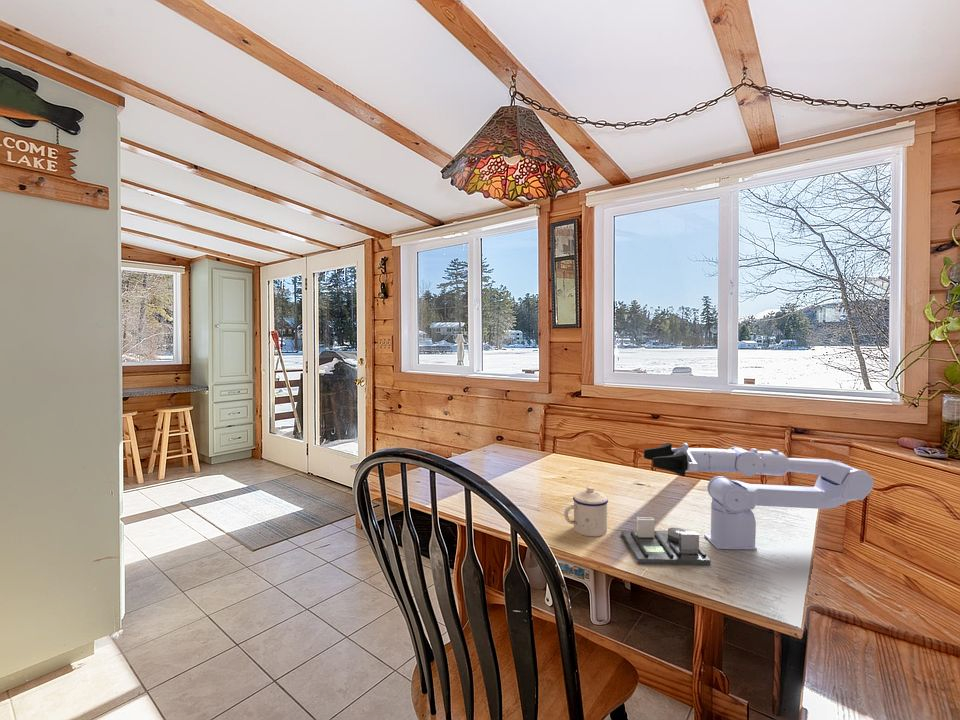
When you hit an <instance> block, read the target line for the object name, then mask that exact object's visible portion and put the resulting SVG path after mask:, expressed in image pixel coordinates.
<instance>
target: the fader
mask: <svg viewBox="0 0 960 720" xmlns="http://www.w3.org/2000/svg"><path fill="white" fill-rule="evenodd" d="M655 523H656V522H655V519H654V517H647V516H646V517H645V516H643V517H642V516H641V517H636V530H637V536H638V537H654V531H655V528H656V527H655Z"/></svg>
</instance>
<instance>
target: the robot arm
mask: <svg viewBox="0 0 960 720" xmlns="http://www.w3.org/2000/svg"><path fill="white" fill-rule="evenodd" d="M643 458H644V459H646V460H651V461H652V467H654V468H656V469H660V470H663V471H664V470H665V471H669V472H671V473H675V474H677V475H679V476H681V477H686V473H687V472H689V473H690V472H693V473H695V472H696V473H697V472H700V473H701V472H703V473H704V472H706V473H707V472H708V473H709V472H711V473H736V472H737V473H739V474H740V475H743V476H745V477H753V476H755V475H765V476H766V475H767V476H775V477H776V476H777V477H779V476H780V477H784V476H785V475H786V474H787V473H788V472H789V473H797V474H807V475H813V476H814V475H816V476H818V477H817V479H816V481H815V482H814V486H802V485H799V486H798V485H795V486H794V485H779V484H761V483H759V484H758V483H748V482H744V481H740V480H736V479H733V480H732V479H730V478H727V477H726V476H722V475H721V476H719V475H718V476H714V477H712V478H711V479H710V480H709V482H708V483H707V493H708V494H709V496H710V497H711V502H710V503H711V505H710V533H704V534H703V536H704V537H705V538H706V539H707V540H708V542H710V543H711V544H712V545H713V547H715V548H716V549H719V550H757V549H758V547H757V546H756V536H757V535H756V533H757V532H756V530H757V523H756V518H755V517H756V516H755V514H754V512H753V511H752V510H754V509H755V508H756V506H757V507H759V506H762V507H777V508H778V507H779V508H797V509H798V508H799V509H816V510H817V509H818V510H819V509H820V510H832V509H834V508H837V507H839V506H843V505H845V504H847V503H849V502H852V501H863V500H864V499H865V498H866V497H867V496H868V495H869V494H870V493H871V491H872V490H873V489H874V483H875V482H874V479H873V477H872V475H871V474H870V473H869V472H868V471H865V470H863V469H858V468H857V467H853V466H850V465H848V464H845V463H843V462H842V461H839V460H831V459H827V458H824V459H823V458H801V457H799V458H797V457H787V455H785V454H784V453H783V452H780V451H779V450H778V449H772V448H770V451H769V450H758V449H757V448H752V447H751V448H750V450H746V449H744V448H742V447H738V446H732V447H729V448H728V449H724V448H712V447H711V448H709V447H708V448H707V447H706V448H705V447H689V444H688V443H687V442H683V443H682V446H681V447H678V448H677V447H673V444H672V443H671V442H666V443H665V444H663V445H660V446H658V447H651V448H647V449H644V450H643Z"/></svg>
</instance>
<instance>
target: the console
mask: <svg viewBox="0 0 960 720" xmlns="http://www.w3.org/2000/svg"><path fill="white" fill-rule="evenodd" d="M620 532H621V534H620V535H621V537H622V539H624V542H625V543H626V545H627V547H628V548H629V551H630V552H631V554H632V555H633V557H634V559H635V560H636V563H637V564H638V565H668V566H670V565H671V566H678V565H679V566H711V559H710V558H709V556H707V554H706V553H705V551H703V549H701V547H700V534H699V533H698V532H697V531H687V530H686V529H684V528H680V527H669V528H667V530H654V537H638V536H637V529H636V530H635V529H621V531H620Z"/></svg>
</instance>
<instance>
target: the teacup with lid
mask: <svg viewBox="0 0 960 720" xmlns="http://www.w3.org/2000/svg"><path fill="white" fill-rule="evenodd" d="M572 500H573V504H571V505H569V506H566V508H565V509H564V512H563V516H564V518H565V520H566V522H567V523H569V524H571V525H573V530H574V531H575V532H576V533H577V534H579V535H581V536H586V537H594V538H595V537H601V536H604V535H605V534H607V531H608V502H609V500H608V496H606V495H605V494H603V493H601V492H599V491H597V490H595V488H594V487H593V486H587V487H586V489H585V490H582V491H579V492H575V493H574V495H573V496H572ZM570 510H573V520H571V519H569V511H570Z"/></svg>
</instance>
